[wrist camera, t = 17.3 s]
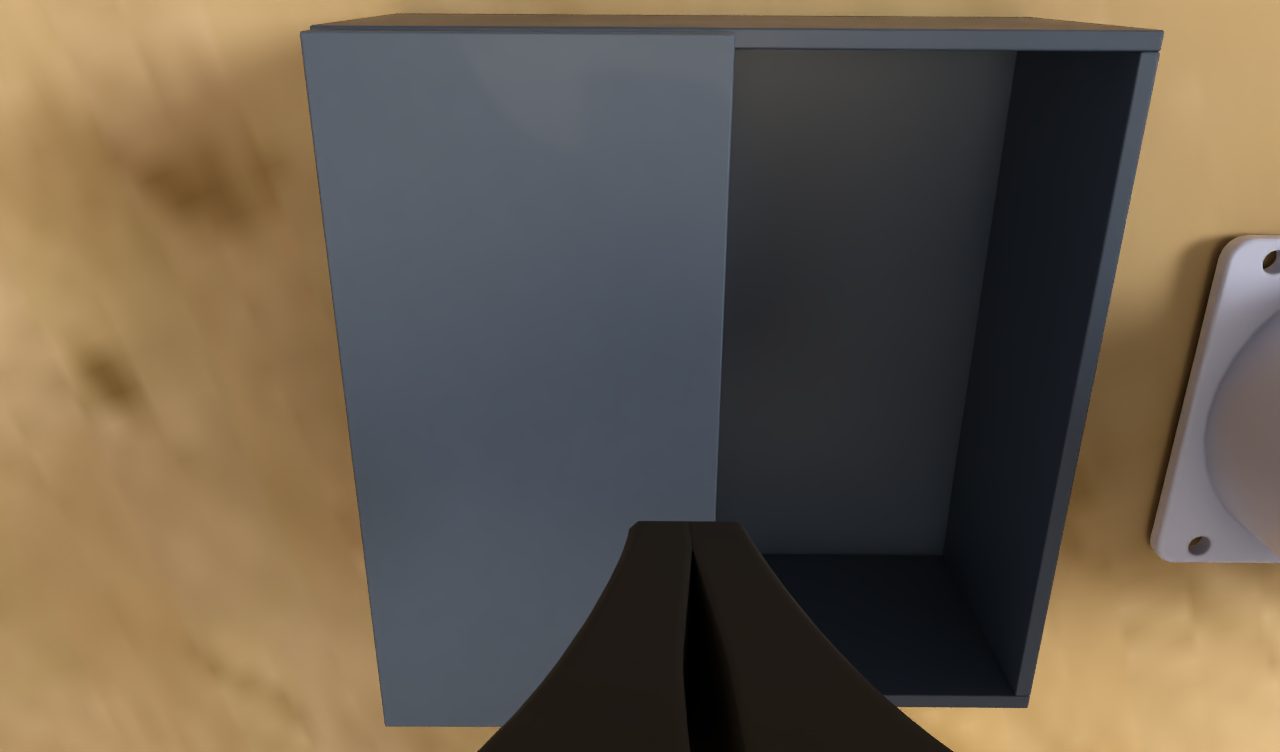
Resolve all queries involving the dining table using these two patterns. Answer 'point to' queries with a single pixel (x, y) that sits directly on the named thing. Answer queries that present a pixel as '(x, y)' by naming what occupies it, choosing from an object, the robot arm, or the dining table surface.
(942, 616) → the carton
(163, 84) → the dining table surface
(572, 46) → the flap
